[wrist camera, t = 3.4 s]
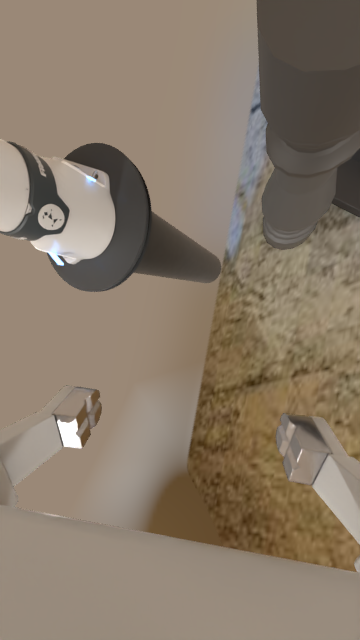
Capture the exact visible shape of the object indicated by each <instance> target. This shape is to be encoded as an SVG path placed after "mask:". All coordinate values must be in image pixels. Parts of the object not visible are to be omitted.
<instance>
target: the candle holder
mask: <svg viewBox="0 0 360 640" xmlns="http://www.w3.org/2000/svg"><path fill="white" fill-rule="evenodd" d="M257 23H258V49H259V76H260V102H261V111H262V113H263V114H264V116H265V118H266V120H267V122H268V125H267V128H266V147H267V154H268V155H269V157H270V159H271V161H272V163H273V165H274V167H275V169H274V171H273V173H272V175H271V177H270V179H269V181H268V183H267V185H266V187H265V190H264V193H263V196H262V213H263V215H264V217H263V232H264V237H265V239H266V241H267V243H269V244H270V245H271V246H273V247H274V248H278V249H283V250H284V249H291V248H294V247H296V246H298V245H300V244H302V243H303V242H304V241H305V240H306V239H307V238H308V237H309V235H310V234H311V233H312V231H313V230H314V229H315V227H316V224H317V222H318V220H319V219H320V218H321V217H322V216H323V215H324V214H325V213H326V211H327V210H328V209H329V207H330V205H331V203H332V200H333V198H334V196H335V194H336V178H337V167H338V166H340V165H341V164H343V163H345V162H346V161H348V160H349V159H351V157H352V156H353V155H354V154H355V153H356V152H357V151H358V149H359V148H360V0H257Z"/></svg>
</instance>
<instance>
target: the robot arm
mask: <svg viewBox="0 0 360 640" xmlns="http://www.w3.org/2000/svg"><path fill="white" fill-rule="evenodd" d="M114 228H115V208H114V204H113V201H112V198H111V195H110V183H109V176H108V174H107V173H105V172H103V171H101V170H97V169H94V168H91V167H88V166H84V165H81V164H78V163H75V162H72V161H68V160H65V159H62V158H58V157H52V158H51V159H50V158H45V157H41V156H37V155H35V154H34V153H33V152H32V151H30V150H28V149H27V148H24V147H23V146H20V145H17V144H15V143H13V142H6V141H4V140H2V139H0V233H2V234H4V235H7V236H10V237H13V238H17V239H24V240H29V241H30V242H31V243H32V244H33V245H34V246H35V248H36V249H38V250H41V251H44V252H48V253H49V254H50V255H51V256H52V258H53V259H54V260H55V261H56V263H57V264H58V265H64V264H63V262H62V261H61V260H60V259H59V258H58V256H57V255H60V256H63V258H64V259H65V260H66V262H67V263H70V264H76V263H77V262H79V261H80V260H82V259H91V258H95V257H97V256H98V255H100V254H101V253H102V252H103V251H104V250H105V249H106V248H107V246H108V245H109V243H110V241H111V239H112V236H113V233H114ZM99 397H100V393H99V390H96V389H89V388H83V387H75V386H68V385H66V386H64V387H63V388H62V389H61V390H60V391H59V392H58V393H57V394H56V395H55V396H54V397H53V398H52V399H51V400H50V402H49V403H48V404H47V405H46V406H45V407H44V408H43V409H42V410H41V411H40V412H39V413H36V412H35V413H33V414H31V415H29V416H27V417H25V418H23V419H21V420H19V421H17V422H15V423H13V424H11V425H9V426H7V427H5V428H3V429H1V430H0V640H360V555H359V556H358V557H357V559H356V560H355V563H354V565H355V568H356V570H357V572H353V571H347V570H342V569H337V568H332V567H326V566H321V565H316V564H311V563H306V562H300V561H295V560H290V559H285V558H279V557H274V556H269V555H264V554H258V553H253V552H248V551H243V550H237V549H232V548H227V547H222V546H216V545H211V544H206V543H200V542H195V541H190V540H185V539H179V538H174V537H168V536H164V535H158V534H153V533H148V532H142V531H137V530H132V529H127V528H121V527H116V526H111V525H106V524H100V523H95V522H90V521H84V520H79V519H74V518H69V517H64V516H58V515H53V514H48V513H43V512H37V511H32V510H26V509H21V508H16V507H15V505H16V504H17V502H18V496H17V494H16V492H15V489H14V486H15V485H16V484H18V483H19V482H20V481H22V480H23V479H24V478H25V477H27V476H28V475H29V474H30V473H32V472H33V471H34V470H35V469H37V468H38V467H39V466H40V465H42V464H43V463H44V462H45V461H47V460H48V459H49V458H51V457H52V456H53V455H54V454H56V453H57V452H58V451H59V450H60V449H62V448H63V447H71V448H80V449H82V448H83V447H84V445H85V443H86V441H87V440H88V438H89V437H90V435H91V434H90V429H91V428H93V427H94V426H96V424H97V423H98V421H99V418H100V415H101V410H102V407H101V403H100V402H99V401H98V399H99ZM280 421H281V423H282V425H280V426H279V427H277V431H276V443H277V447H278V451H279V452H280V453H281V454H282V456H283V457H284V460H283V466H284V469H285V472H286V475H287V478H288V481H291V482H296V483H302V484H307V485H312V487H313V488H314V490H315V491H316V492H317V493H318V494H319V496H320V497H321V498H322V499H323V501H324V502H325V503H326V504H327V505H328V507H329V508H330V509H331V510H332V511H333V513H334V514H335V515H336V516H337V518H338V519H339V520H340V521H341V522H342V524H343V525H344V526H345V527H346V528H347V530H348V531H349V532H350V533H351V535H352V536H353V537H354V538H355V539H356V541H357V542H358V543H359V544H360V462H358V461H357V460H356V459H355V458H353V457H349V456H348V455H347V453H346V452H345V450H344V448H343V447H342V445H341V444H340V442H339V441H338V439H337V438H336V436H335V434H334V433H333V431H332V430H331V428H330V427H329V425H328V424H327V422H326V421H325V419H323V418H322V417H313V416H305V415H296V414H287V413H283V414H282V415H281V418H280Z"/></svg>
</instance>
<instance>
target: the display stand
mask: <svg viewBox="0 0 360 640" xmlns="http://www.w3.org/2000/svg"><path fill="white" fill-rule="evenodd" d="M332 203H333V204H335V205H337V206H338V207H340V208H342V209H344V210H346V211H348V212H350V213H352V214H354V215H356V216H358V217H360V148H359V149H358V151H357V152H356V153H355V154H354V155H353V156H352V157H351V159H349V160H348V161H346V162H345V163H343V164H341V165H340V166H338V167H337V178H336V194H335V196H334V198H333V200H332Z"/></svg>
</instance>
